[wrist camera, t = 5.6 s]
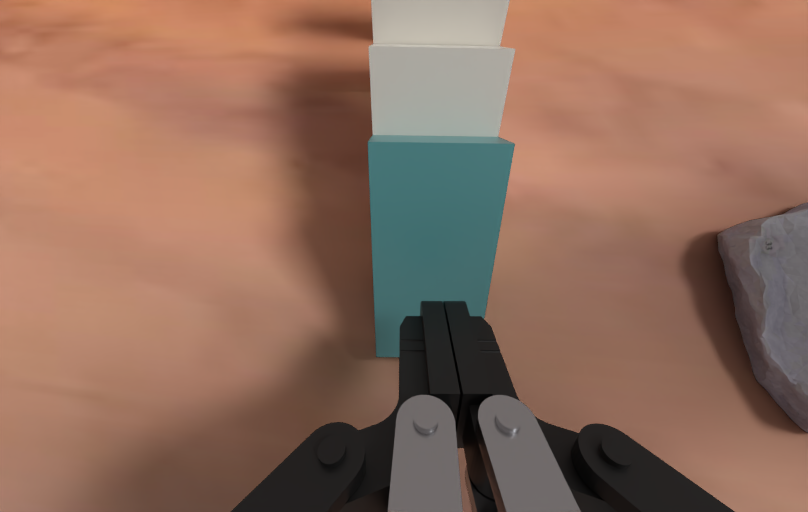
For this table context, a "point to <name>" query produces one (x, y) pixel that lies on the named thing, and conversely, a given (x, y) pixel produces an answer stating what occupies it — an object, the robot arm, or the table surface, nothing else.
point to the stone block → (773, 302)
